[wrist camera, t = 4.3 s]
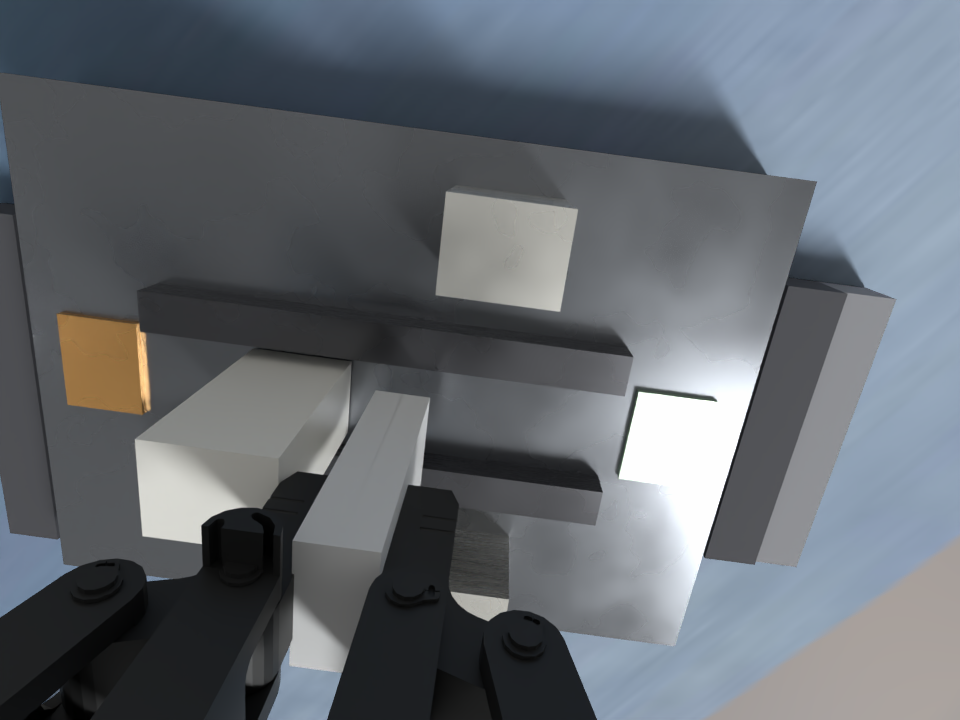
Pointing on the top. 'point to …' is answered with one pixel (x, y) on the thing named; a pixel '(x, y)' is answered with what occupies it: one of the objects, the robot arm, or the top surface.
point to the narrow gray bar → (797, 420)
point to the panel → (408, 324)
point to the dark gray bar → (21, 400)
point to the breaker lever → (240, 440)
